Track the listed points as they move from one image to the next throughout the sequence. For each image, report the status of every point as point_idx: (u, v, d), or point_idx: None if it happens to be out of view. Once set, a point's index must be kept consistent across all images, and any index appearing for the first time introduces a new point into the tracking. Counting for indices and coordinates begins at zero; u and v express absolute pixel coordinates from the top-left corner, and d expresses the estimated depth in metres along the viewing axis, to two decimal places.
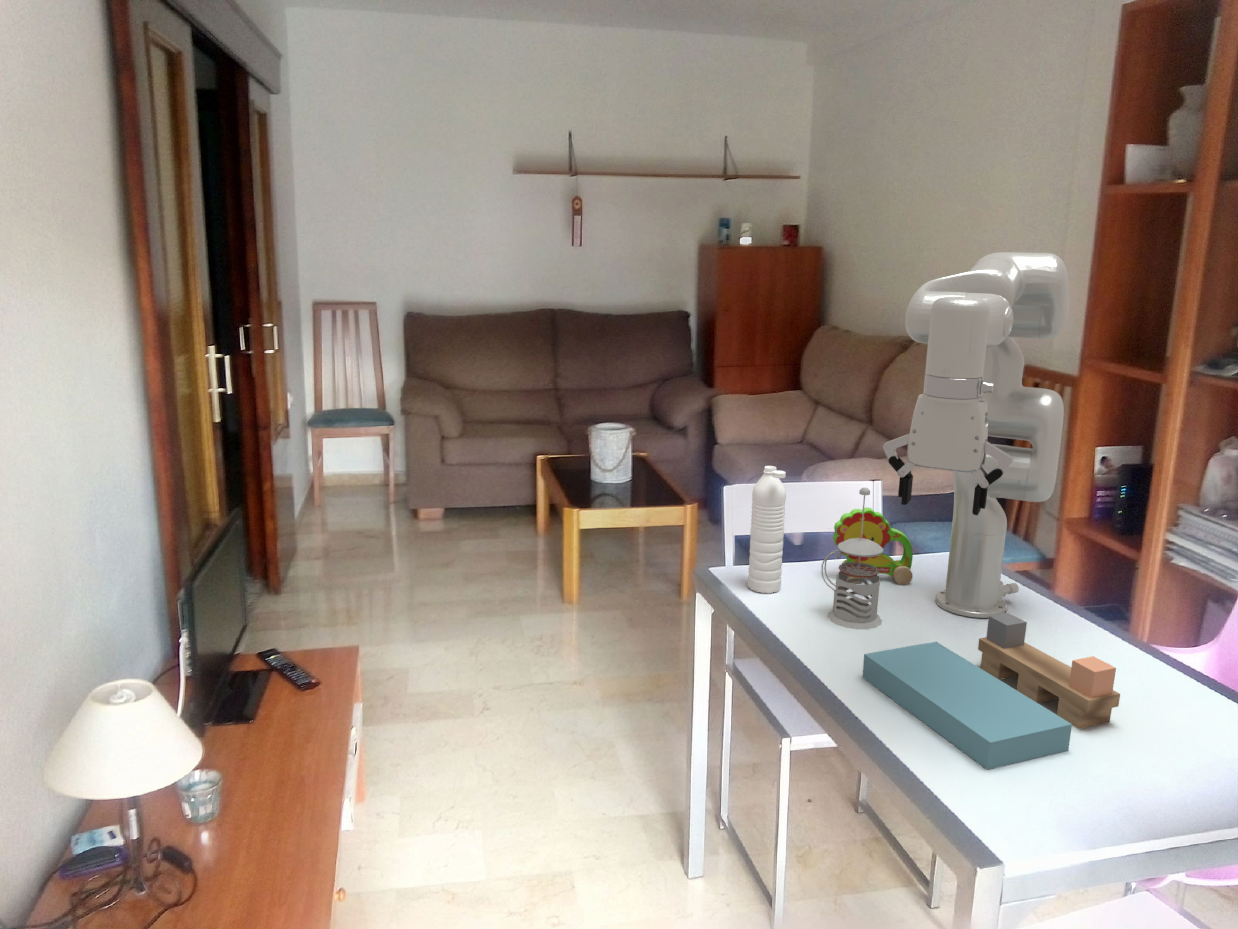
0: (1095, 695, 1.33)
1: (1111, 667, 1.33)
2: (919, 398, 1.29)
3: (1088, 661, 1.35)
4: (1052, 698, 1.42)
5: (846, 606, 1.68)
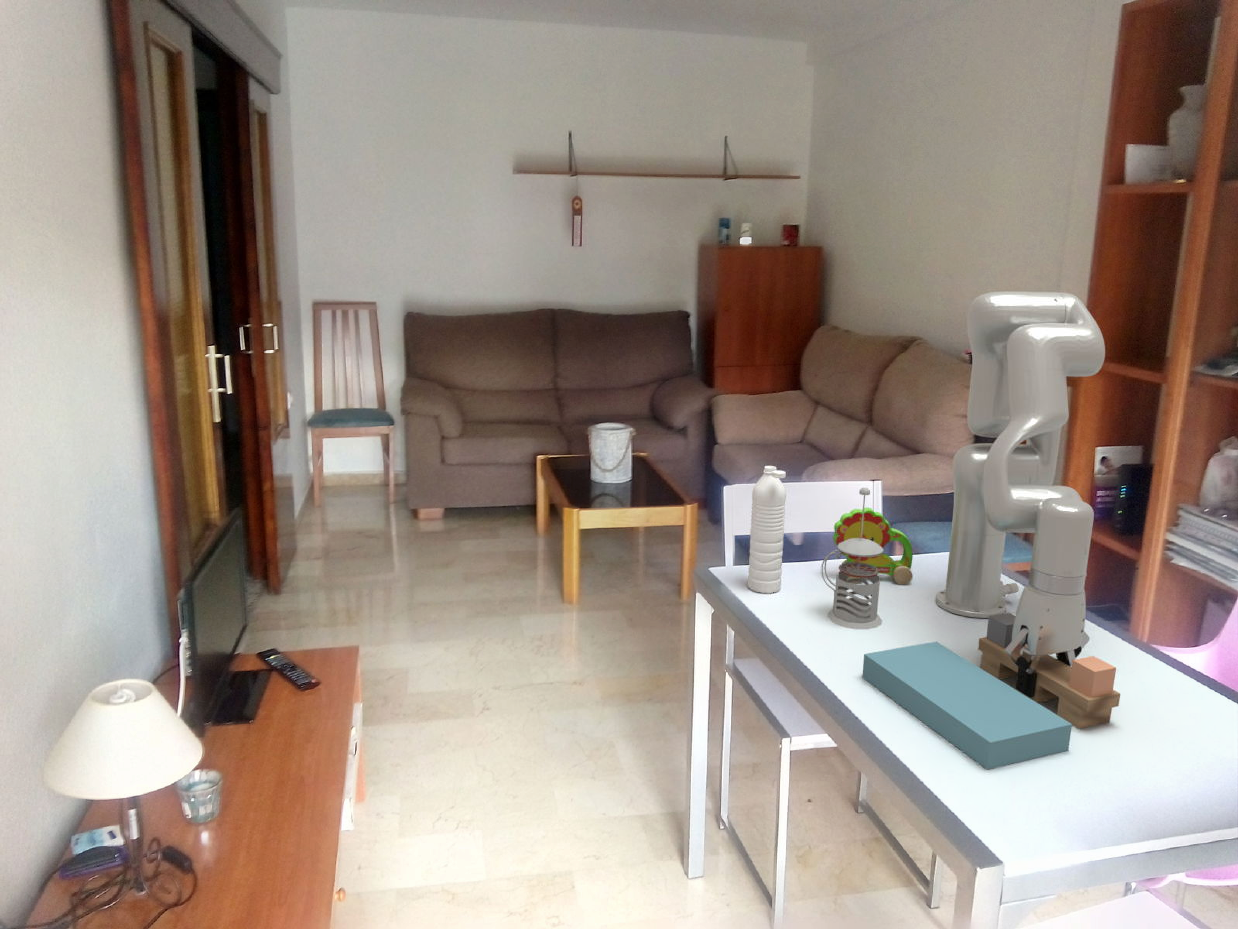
0: (1095, 695, 1.33)
1: (1111, 667, 1.33)
2: (1043, 597, 1.37)
3: (1088, 661, 1.35)
4: (1052, 698, 1.42)
5: (846, 606, 1.68)
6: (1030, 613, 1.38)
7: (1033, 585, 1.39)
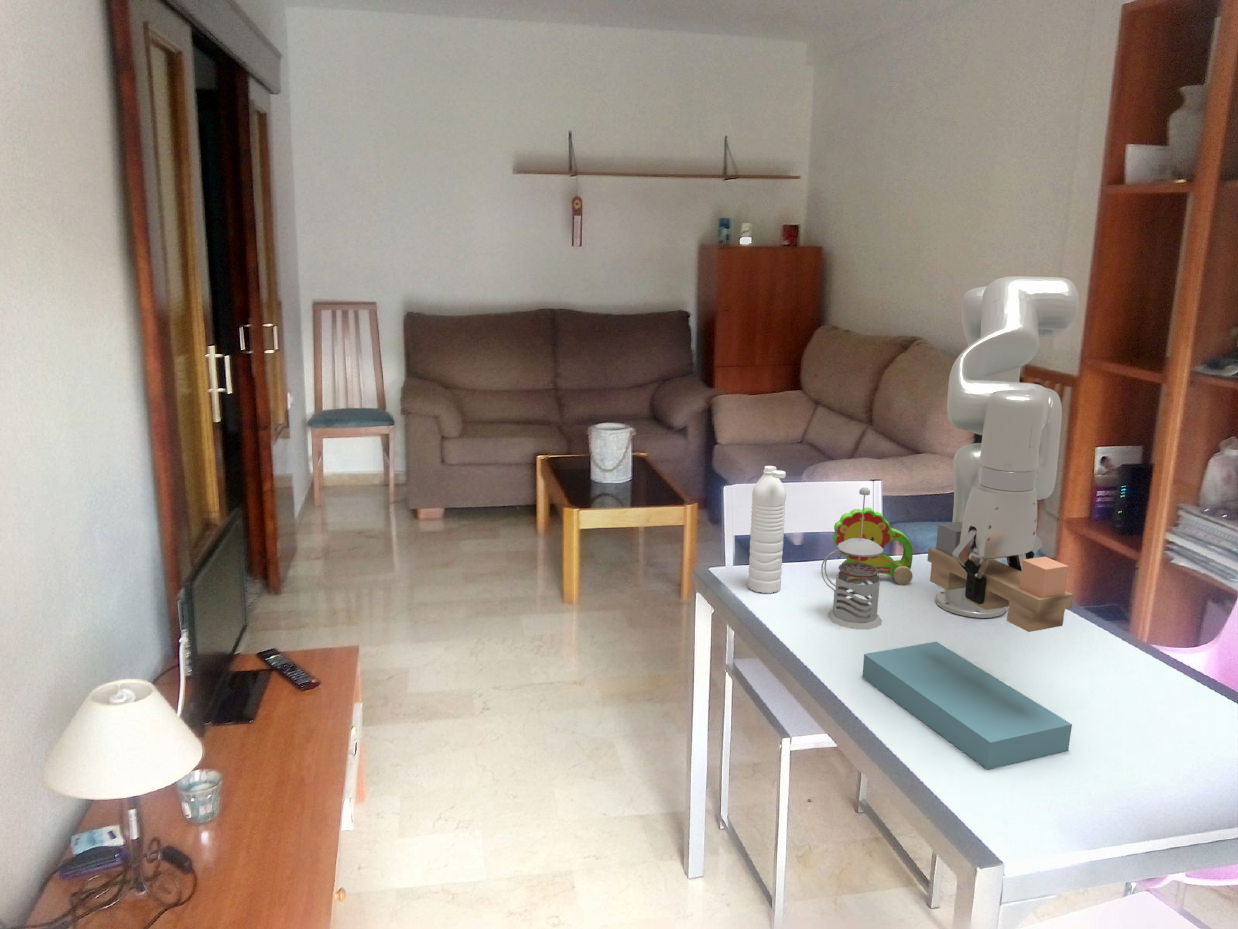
0: (1046, 595, 1.24)
1: (1063, 565, 1.25)
2: (991, 494, 1.29)
3: (1039, 560, 1.26)
4: (1003, 605, 1.34)
5: (846, 606, 1.68)
6: (978, 512, 1.30)
7: (981, 483, 1.31)
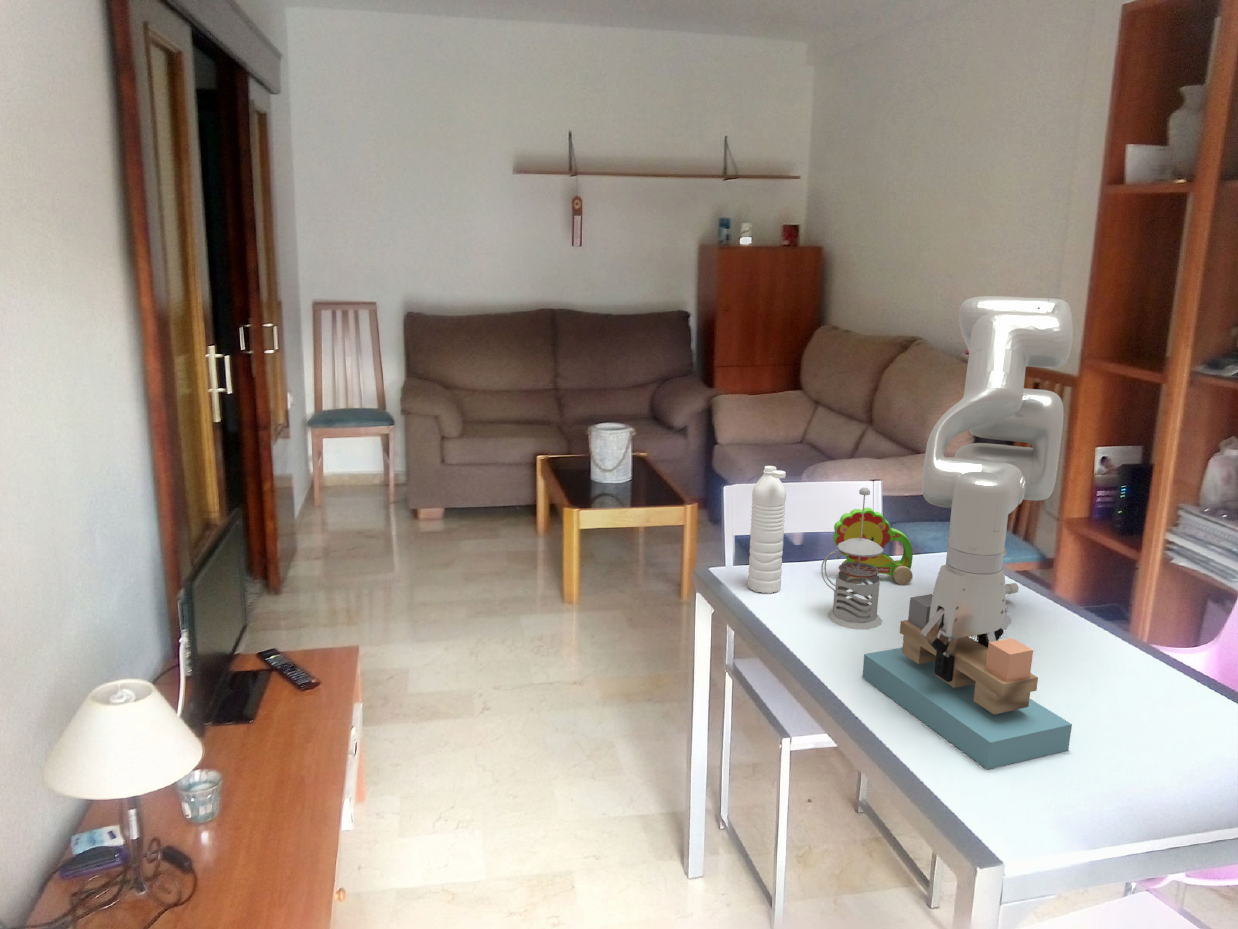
0: (1011, 679, 1.26)
1: (1028, 649, 1.26)
2: (958, 576, 1.30)
3: (1005, 643, 1.28)
4: (972, 682, 1.35)
5: (846, 606, 1.68)
6: (946, 593, 1.32)
7: (949, 564, 1.32)
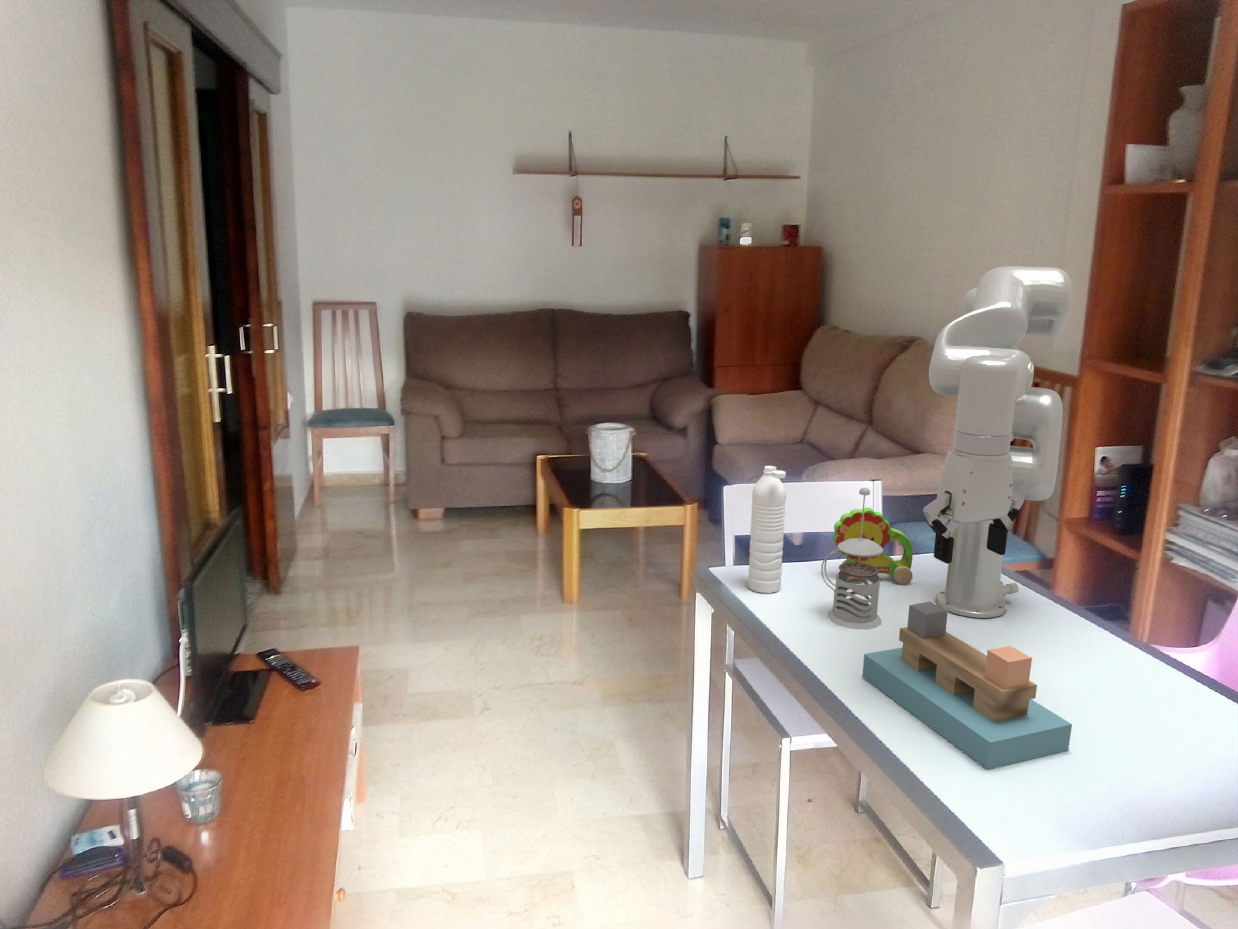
0: (1010, 686, 1.26)
1: (1027, 657, 1.27)
2: (965, 459, 1.30)
3: (1004, 651, 1.28)
4: (971, 690, 1.36)
5: (846, 606, 1.68)
6: (953, 477, 1.31)
7: (956, 448, 1.31)
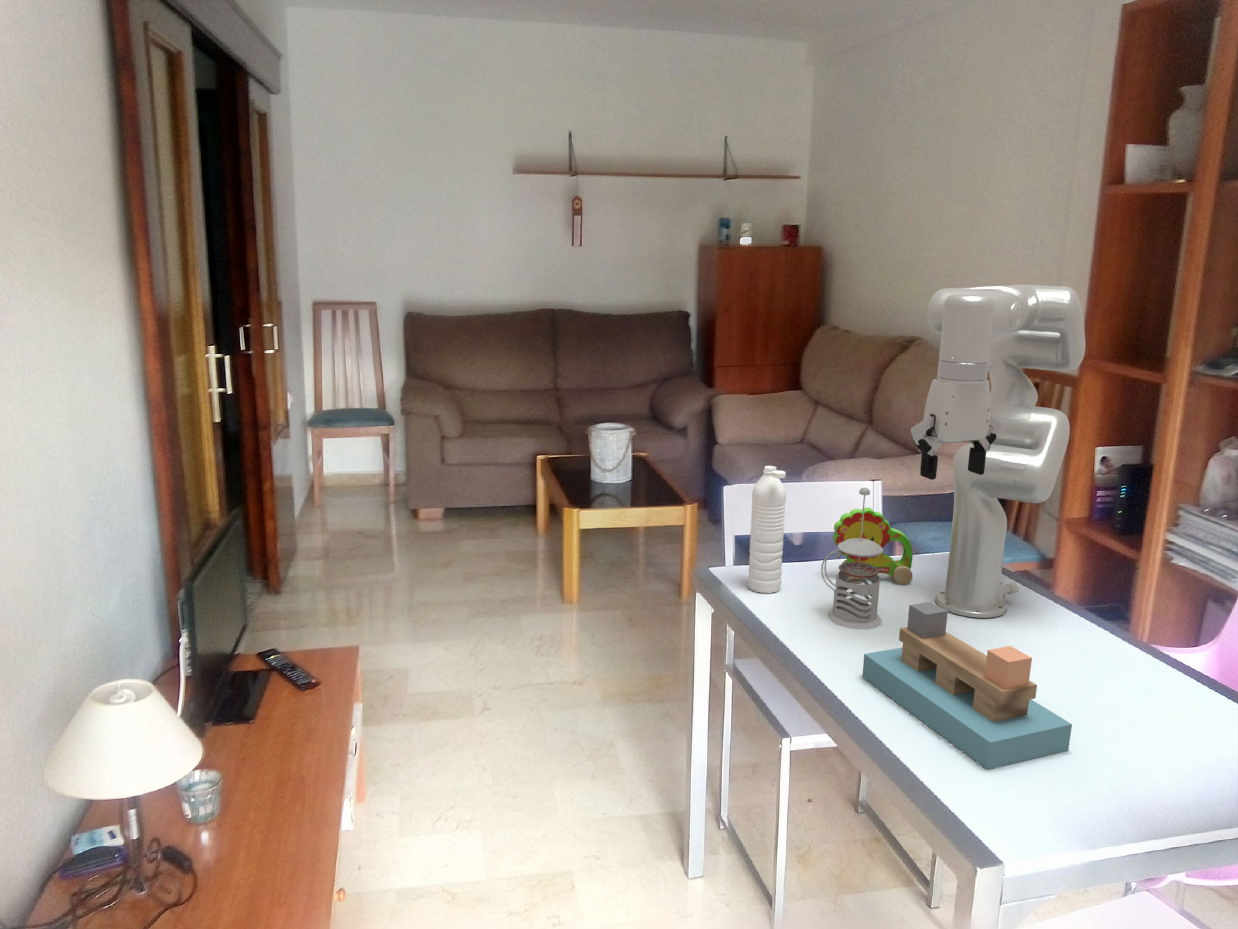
0: (1010, 686, 1.26)
1: (1027, 657, 1.27)
2: (948, 384, 1.47)
3: (1004, 651, 1.28)
4: (971, 690, 1.36)
5: (846, 606, 1.68)
6: (937, 401, 1.48)
7: (940, 376, 1.49)
